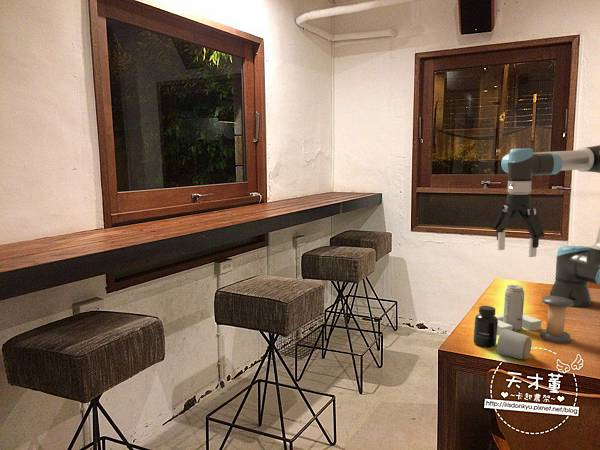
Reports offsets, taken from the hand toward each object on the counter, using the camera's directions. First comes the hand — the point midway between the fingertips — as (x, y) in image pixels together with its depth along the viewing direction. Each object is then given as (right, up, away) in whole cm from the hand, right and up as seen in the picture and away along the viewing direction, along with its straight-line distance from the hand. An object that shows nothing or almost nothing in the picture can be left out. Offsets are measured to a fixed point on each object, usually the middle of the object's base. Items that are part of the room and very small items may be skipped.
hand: (516, 253), depth 175 cm
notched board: (-3, -26, -3) cm, 26 cm away
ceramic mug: (-12, -29, -26) cm, 41 cm away
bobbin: (+7, -27, -12) cm, 31 cm away
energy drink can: (-3, -26, -4) cm, 27 cm away
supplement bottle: (-18, -28, -17) cm, 38 cm away
